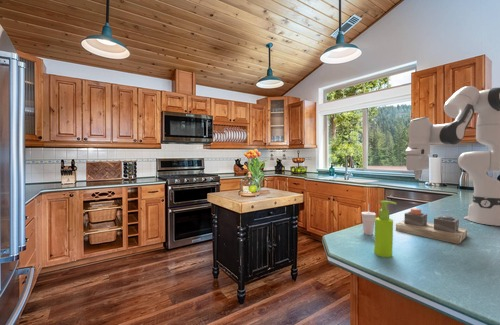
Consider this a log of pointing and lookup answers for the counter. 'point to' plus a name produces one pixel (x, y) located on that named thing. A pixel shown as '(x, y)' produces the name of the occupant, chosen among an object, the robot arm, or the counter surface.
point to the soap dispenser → (384, 232)
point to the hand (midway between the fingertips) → (417, 179)
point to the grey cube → (446, 218)
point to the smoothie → (368, 221)
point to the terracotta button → (416, 211)
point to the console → (432, 228)
